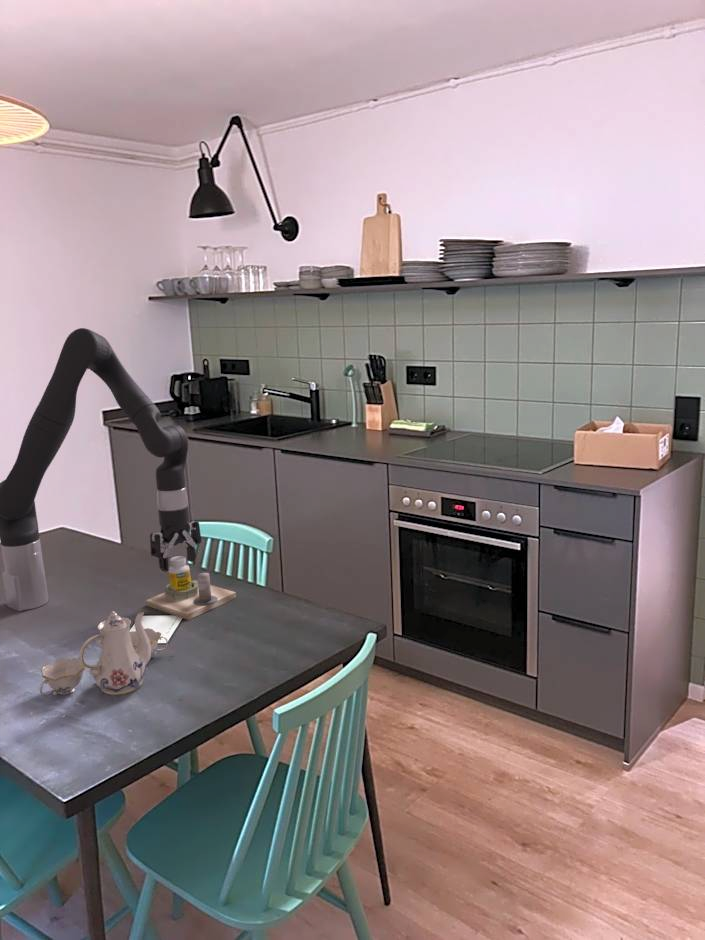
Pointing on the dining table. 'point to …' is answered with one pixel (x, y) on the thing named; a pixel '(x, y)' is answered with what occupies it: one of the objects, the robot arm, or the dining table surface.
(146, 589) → the dining table surface
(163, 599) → the board
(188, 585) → the supplement bottle
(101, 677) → the chinaware
